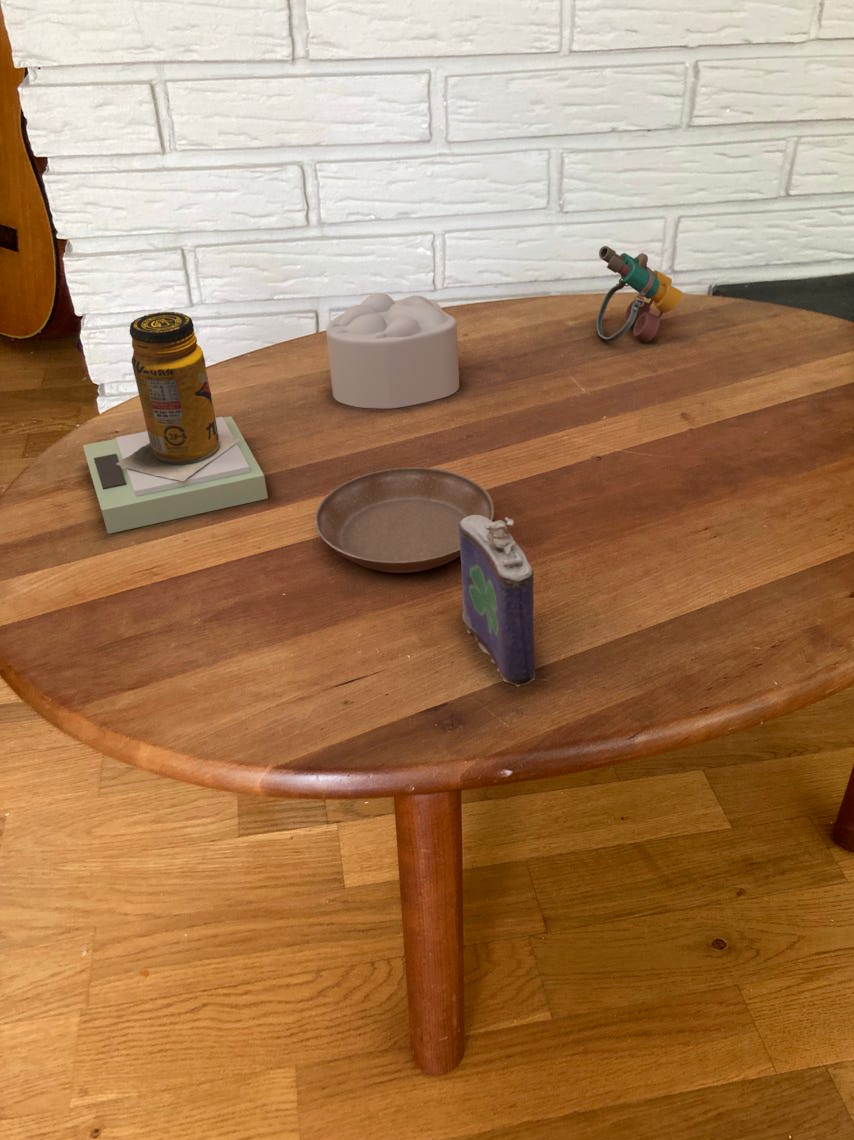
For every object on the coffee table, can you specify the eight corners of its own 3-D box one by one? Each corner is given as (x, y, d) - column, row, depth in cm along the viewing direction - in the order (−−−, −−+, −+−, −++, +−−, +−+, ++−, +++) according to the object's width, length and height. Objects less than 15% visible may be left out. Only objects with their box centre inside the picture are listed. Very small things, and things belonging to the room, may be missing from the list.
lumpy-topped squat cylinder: (468, 393, 113) (465, 312, 107) (350, 418, 109) (341, 335, 103) (431, 357, 120) (427, 280, 115) (319, 379, 116) (310, 300, 111)
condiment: (240, 441, 99) (218, 313, 91) (183, 483, 93) (154, 349, 85) (176, 427, 101) (149, 301, 94) (116, 467, 95) (82, 336, 88)
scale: (108, 534, 92) (99, 503, 90) (89, 467, 101) (81, 439, 100) (268, 498, 96) (263, 468, 94) (235, 438, 106) (230, 410, 104)
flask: (456, 619, 81) (452, 495, 75) (492, 609, 82) (490, 485, 75) (508, 691, 74) (508, 561, 68) (546, 679, 75) (550, 550, 69)
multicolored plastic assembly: (639, 368, 122) (693, 292, 117) (574, 331, 118) (627, 250, 113) (620, 337, 129) (670, 263, 124) (558, 300, 125) (607, 223, 121)
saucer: (409, 611, 82) (407, 581, 80) (281, 545, 90) (277, 517, 88) (530, 530, 91) (530, 503, 89) (404, 477, 99) (402, 450, 97)
